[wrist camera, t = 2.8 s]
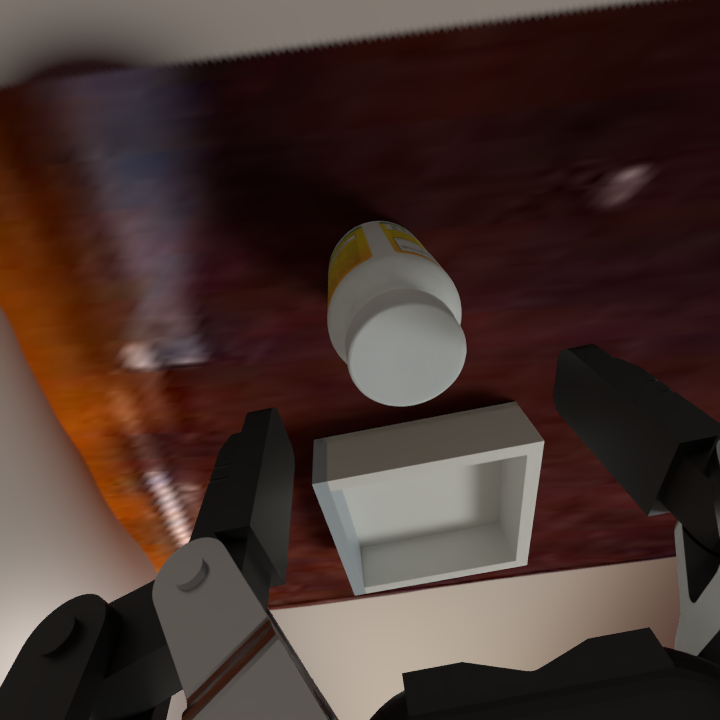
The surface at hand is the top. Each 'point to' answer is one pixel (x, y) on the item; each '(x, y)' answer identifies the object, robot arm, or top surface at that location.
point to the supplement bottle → (394, 315)
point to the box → (430, 496)
